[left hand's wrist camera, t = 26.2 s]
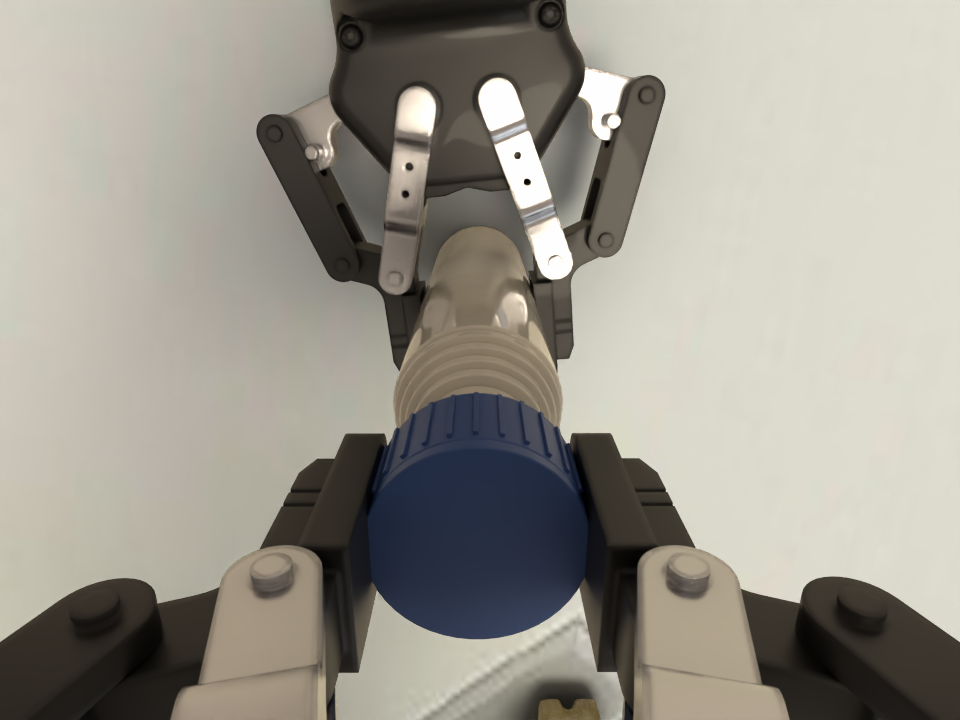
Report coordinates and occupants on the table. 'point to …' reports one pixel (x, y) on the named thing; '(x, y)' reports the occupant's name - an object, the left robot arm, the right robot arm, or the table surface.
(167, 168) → the table surface
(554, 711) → the sculpture
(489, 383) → the bottle
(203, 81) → the table surface
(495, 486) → the cap
